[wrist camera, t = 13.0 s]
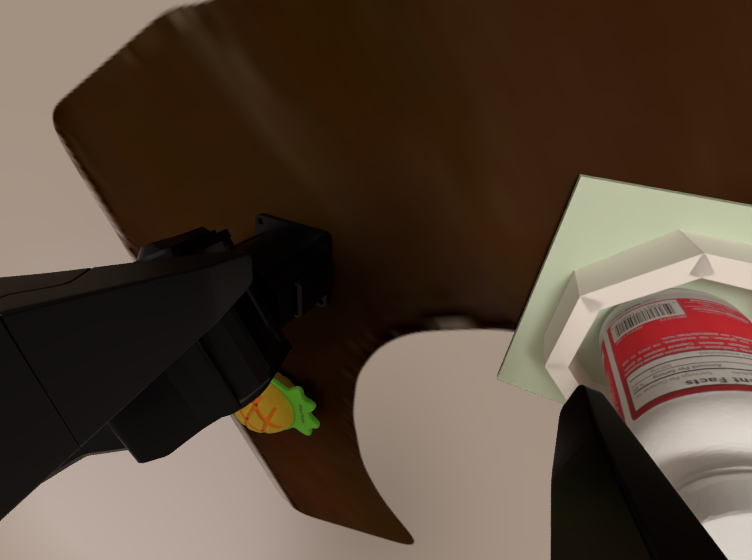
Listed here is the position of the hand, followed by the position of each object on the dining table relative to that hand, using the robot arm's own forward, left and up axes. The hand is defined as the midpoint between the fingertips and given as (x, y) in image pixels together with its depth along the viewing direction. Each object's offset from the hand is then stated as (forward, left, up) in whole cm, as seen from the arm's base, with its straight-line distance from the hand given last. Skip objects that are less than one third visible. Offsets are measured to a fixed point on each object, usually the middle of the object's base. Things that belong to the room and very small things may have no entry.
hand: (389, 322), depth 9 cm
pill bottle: (+12, -5, -13) cm, 18 cm away
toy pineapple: (-13, -23, -13) cm, 29 cm away
